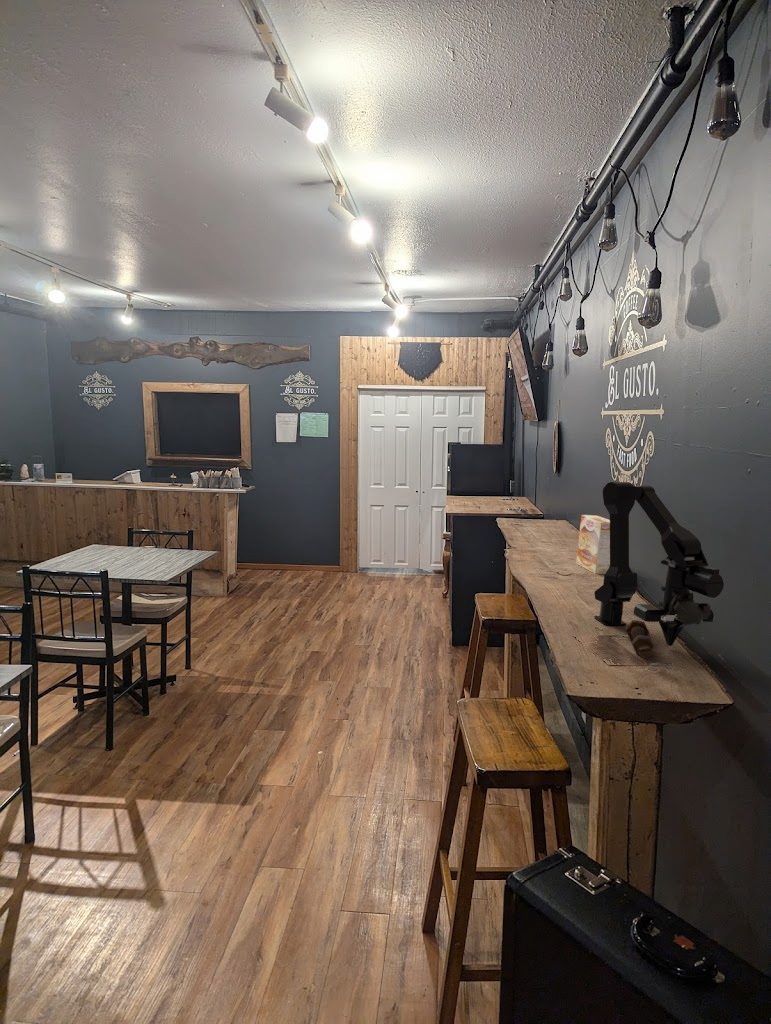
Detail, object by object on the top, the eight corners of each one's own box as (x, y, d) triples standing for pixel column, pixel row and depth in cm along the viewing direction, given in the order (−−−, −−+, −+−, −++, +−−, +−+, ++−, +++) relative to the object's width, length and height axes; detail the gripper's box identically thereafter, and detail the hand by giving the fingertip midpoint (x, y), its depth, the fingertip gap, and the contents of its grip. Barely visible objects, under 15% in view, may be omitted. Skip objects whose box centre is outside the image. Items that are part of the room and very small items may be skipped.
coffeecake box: (575, 563, 243) (580, 514, 240) (592, 564, 245) (597, 515, 241) (594, 574, 229) (600, 522, 225) (612, 574, 230) (618, 522, 227)
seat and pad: (571, 635, 163) (571, 635, 163) (631, 635, 166) (631, 635, 166) (608, 665, 145) (608, 665, 145) (674, 664, 148) (674, 664, 148)
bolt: (639, 666, 150) (631, 642, 164) (660, 659, 148) (651, 636, 162) (629, 644, 149) (622, 623, 164) (650, 637, 148) (641, 616, 162)
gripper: (662, 595, 145) (653, 658, 148) (734, 595, 149) (724, 657, 151) (636, 581, 156) (628, 640, 159) (703, 582, 159) (694, 640, 162)
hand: (669, 645), depth 157 cm, fingers closed
